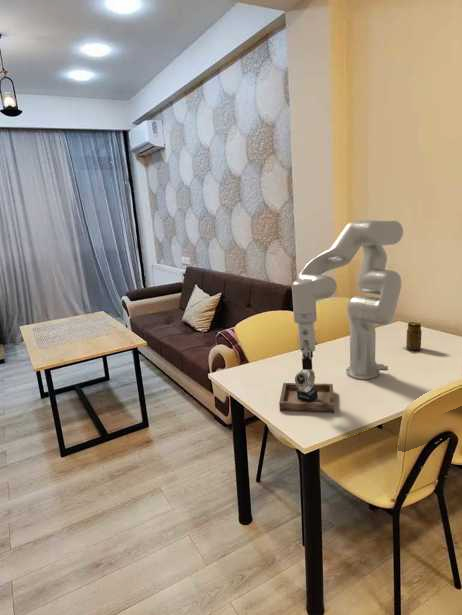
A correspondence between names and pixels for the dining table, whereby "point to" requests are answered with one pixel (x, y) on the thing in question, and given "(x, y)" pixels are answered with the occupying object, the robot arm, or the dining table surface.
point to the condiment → (414, 338)
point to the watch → (306, 391)
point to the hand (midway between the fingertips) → (307, 363)
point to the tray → (294, 404)
